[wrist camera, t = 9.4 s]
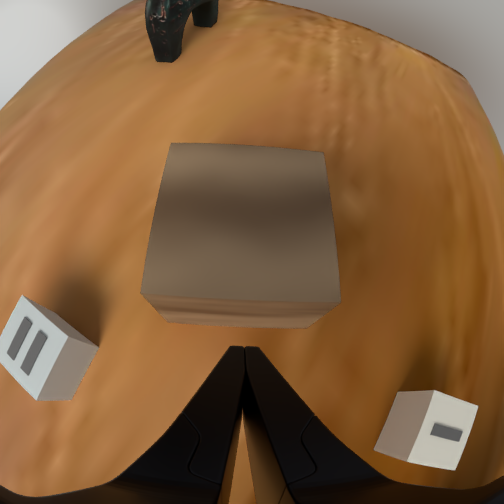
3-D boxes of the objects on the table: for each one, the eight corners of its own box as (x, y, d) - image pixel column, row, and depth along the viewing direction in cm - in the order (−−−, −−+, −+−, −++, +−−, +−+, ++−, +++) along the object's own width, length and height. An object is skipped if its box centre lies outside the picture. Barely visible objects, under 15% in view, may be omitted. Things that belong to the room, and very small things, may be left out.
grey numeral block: (71, 400, 17) (35, 400, 13) (30, 362, 18) (-9, 352, 13) (99, 347, 19) (67, 336, 15) (56, 313, 20) (20, 294, 15)
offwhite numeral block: (418, 461, 17) (456, 470, 12) (372, 449, 18) (407, 461, 13) (439, 407, 19) (479, 406, 14) (397, 391, 20) (435, 389, 15)
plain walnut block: (305, 328, 22) (341, 302, 15) (168, 322, 21) (140, 293, 14) (300, 211, 26) (323, 152, 19) (183, 204, 25) (170, 143, 18)
